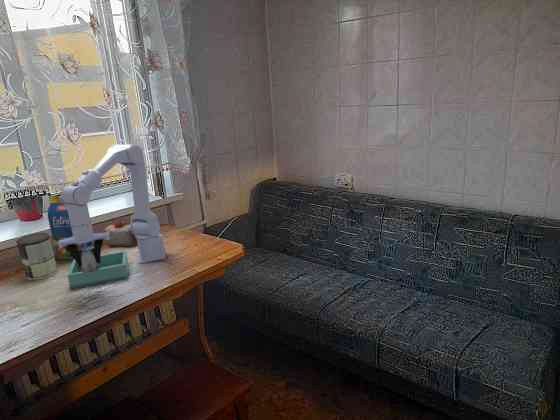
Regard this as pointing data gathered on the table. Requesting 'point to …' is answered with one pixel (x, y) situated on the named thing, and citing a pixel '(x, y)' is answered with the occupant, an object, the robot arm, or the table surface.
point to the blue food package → (61, 227)
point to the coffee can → (37, 256)
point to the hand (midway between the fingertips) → (89, 264)
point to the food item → (120, 235)
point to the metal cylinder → (88, 259)
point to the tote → (101, 271)
